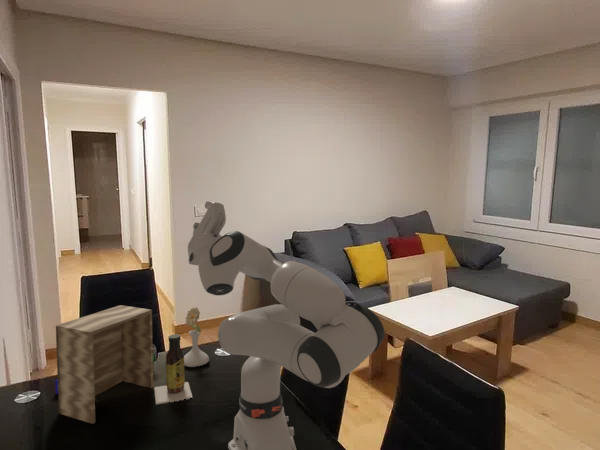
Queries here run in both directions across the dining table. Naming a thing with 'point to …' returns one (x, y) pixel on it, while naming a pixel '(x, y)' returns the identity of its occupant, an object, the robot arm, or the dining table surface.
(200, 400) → the dining table surface
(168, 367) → the sauce bottle
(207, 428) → the dining table surface
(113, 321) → the cubby
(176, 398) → the plate
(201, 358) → the flower in vase
